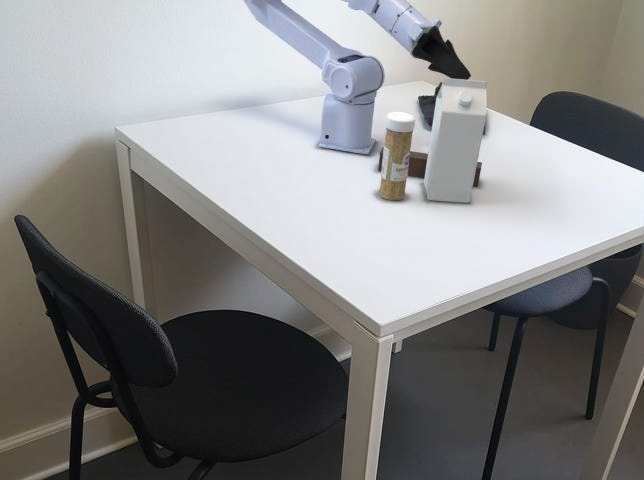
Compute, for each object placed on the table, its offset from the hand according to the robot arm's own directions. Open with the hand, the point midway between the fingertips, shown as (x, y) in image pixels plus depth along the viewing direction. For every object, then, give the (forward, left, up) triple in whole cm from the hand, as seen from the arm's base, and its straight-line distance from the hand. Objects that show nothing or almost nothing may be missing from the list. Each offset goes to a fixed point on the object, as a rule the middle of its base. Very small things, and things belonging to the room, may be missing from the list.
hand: (462, 75), depth 118 cm
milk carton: (+1, -7, -18) cm, 19 cm away
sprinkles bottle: (-8, -11, -18) cm, 23 cm away
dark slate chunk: (-2, +34, -18) cm, 39 cm away
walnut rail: (-3, 0, -18) cm, 18 cm away
